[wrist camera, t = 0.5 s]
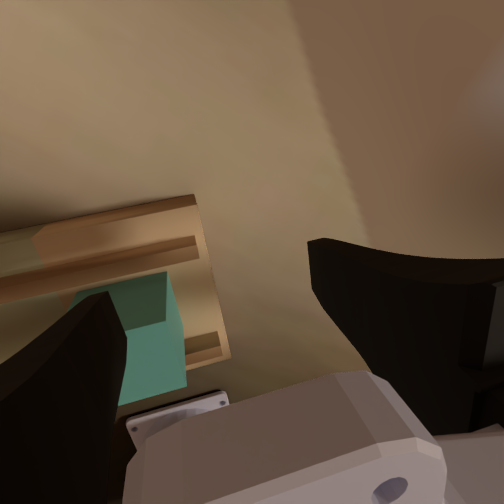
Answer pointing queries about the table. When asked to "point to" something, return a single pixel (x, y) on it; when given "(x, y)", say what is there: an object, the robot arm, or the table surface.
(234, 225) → the table surface
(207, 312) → the channel board
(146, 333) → the teal block
